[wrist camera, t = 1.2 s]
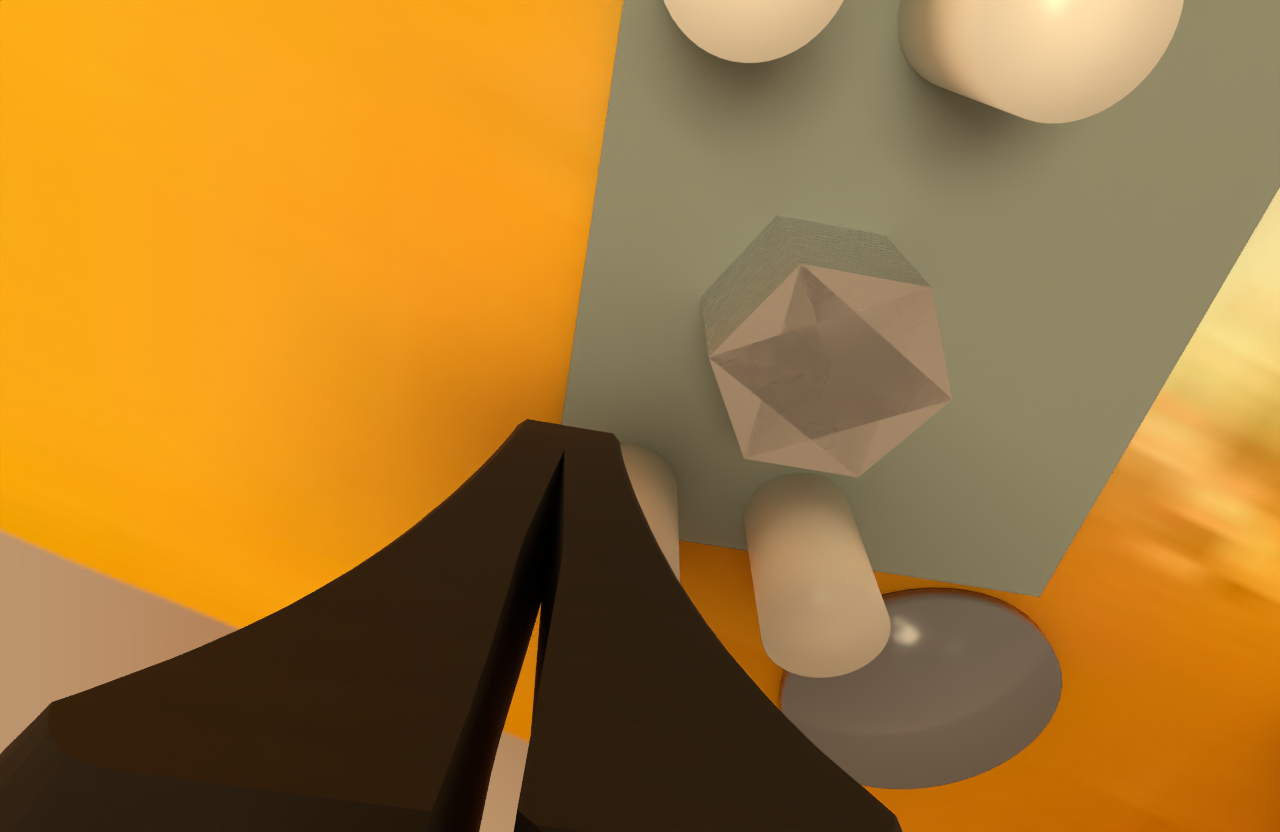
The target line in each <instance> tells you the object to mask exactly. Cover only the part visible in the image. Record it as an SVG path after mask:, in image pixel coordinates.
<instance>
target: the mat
mask: <svg viewBox="0 0 1280 832" xmlns="http://www.w3.org/2000/svg"><path fill="white" fill-rule="evenodd" d="M900 1H901V0H844V1H843V3H842V4H841V6H840V8H839V9H838V11H837V13H836V14H835V15H834V17H833V18H832V19H831V21H830V22H829V23H828V24H827V26H826V27H825V28H824V29H823V30H822V31H821V32H820V33H819V34H818V35H817V36H816V37H814V38H813V39H812V40H811V41H809V42H808V43H807V44H806V45H804V46H802V47H801V48H799V49H798V50H796V51H794V52H792V53H790V54H788V55H786V56H783V57H781V58H777V59H774V60H771V61H765V62H759V63H741V62H733V61H729V60H726V59H722V58H719V57H717V56H715V55H712V54H710V53H708V52H707V51H705V50H703V49H702V48H700V47H699V46H697V45H696V44H695V43H694V42H693V41H691V40H690V39H689V38H688V37H687V36H686V35H685V34H684V33H683V32H682V30H681V29H680V28H679V27H678V25H677V24H676V23H675V21H674V20H673V18H672V17H671V15H670V13H669V11H668V9H667V7H666V5H665V3H664V0H624V2H623V9H622V16H621V23H620V29H619V36H618V43H617V50H616V57H615V63H614V70H613V77H612V84H611V91H610V97H609V104H608V111H607V118H606V125H605V131H604V138H603V145H602V152H601V159H600V165H599V172H598V179H597V186H596V193H595V199H594V206H593V213H592V220H591V227H590V233H589V240H588V247H587V254H586V261H585V267H584V274H583V281H582V288H581V295H580V302H579V308H578V315H577V322H576V329H575V336H574V342H573V349H572V356H571V363H570V370H569V376H568V383H567V390H566V397H565V404H564V410H563V417H562V424H561V425H565V426H571V427H577V428H583V429H590V430H596V431H602V432H608V433H613V434H614V435H615V436H616V438H617V439H618V440H619V442H620V443H627V444H635V445H639V446H642V447H645V448H648V449H650V450H652V451H654V452H655V453H657V454H658V455H660V456H661V457H662V458H663V459H664V460H665V461H666V462H667V463H668V464H669V465H670V467H671V468H672V470H673V472H674V474H675V477H676V481H677V495H678V529H679V540H681V541H687V542H694V543H700V544H706V545H713V546H719V547H726V548H732V549H738V550H745V551H748V546H747V540H746V533H745V526H744V511H745V507H746V505H747V502H748V501H749V499H750V497H751V496H752V495H753V493H754V492H755V491H756V490H757V489H758V488H759V487H761V486H762V485H763V484H765V483H766V482H768V481H770V480H772V479H774V478H776V477H779V476H782V475H786V474H791V473H811V474H816V475H819V476H822V477H825V478H827V479H829V480H831V481H832V482H834V483H835V484H836V485H837V486H838V487H839V488H840V489H841V490H842V491H843V492H844V494H845V496H846V498H847V500H848V503H849V506H850V509H851V511H852V514H853V517H854V520H855V523H856V525H857V528H858V531H859V534H860V537H861V539H862V542H863V545H864V548H865V551H866V553H867V556H868V559H869V562H870V565H871V567H872V570H873V571H878V572H884V573H891V574H897V575H903V576H910V577H916V578H922V579H929V580H935V581H941V582H948V583H954V584H960V585H967V586H973V587H979V588H986V589H992V590H999V591H1005V592H1011V593H1018V594H1024V595H1030V596H1037V597H1040V595H1041V594H1042V592H1043V590H1044V589H1045V587H1046V585H1047V583H1048V582H1049V580H1050V578H1051V577H1052V575H1053V573H1054V572H1055V570H1056V568H1057V566H1058V565H1059V563H1060V561H1061V560H1062V558H1063V556H1064V554H1065V553H1066V551H1067V549H1068V548H1069V546H1070V544H1071V542H1072V541H1073V539H1074V537H1075V536H1076V534H1077V532H1078V531H1079V529H1080V527H1081V525H1082V524H1083V522H1084V520H1085V519H1086V517H1087V515H1088V513H1089V512H1090V510H1091V508H1092V507H1093V505H1094V503H1095V502H1096V500H1097V498H1098V496H1099V495H1100V493H1101V491H1102V490H1103V488H1104V486H1105V484H1106V483H1107V481H1108V479H1109V478H1110V476H1111V474H1112V473H1113V471H1114V469H1115V467H1116V466H1117V464H1118V462H1119V461H1120V459H1121V457H1122V455H1123V454H1124V452H1125V450H1126V449H1127V447H1128V445H1129V444H1130V442H1131V440H1132V438H1133V437H1134V435H1135V433H1136V432H1137V430H1138V428H1139V426H1140V425H1141V423H1142V421H1143V420H1144V418H1145V416H1146V414H1147V413H1148V411H1149V409H1150V408H1151V406H1152V404H1153V403H1154V401H1155V399H1156V397H1157V396H1158V394H1159V392H1160V391H1161V389H1162V387H1163V385H1164V384H1165V382H1166V380H1167V379H1168V377H1169V375H1170V374H1171V372H1172V370H1173V368H1174V367H1175V365H1176V363H1177V362H1178V360H1179V358H1180V356H1181V355H1182V353H1183V351H1184V350H1185V348H1186V346H1187V345H1188V343H1189V341H1190V339H1191V338H1192V336H1193V334H1194V333H1195V331H1196V329H1197V327H1198V326H1199V324H1200V322H1201V321H1202V319H1203V317H1204V316H1205V314H1206V312H1207V310H1208V309H1209V307H1210V305H1211V304H1212V302H1213V300H1214V298H1215V297H1216V295H1217V293H1218V292H1219V290H1220V288H1221V286H1222V285H1223V283H1224V281H1225V280H1226V278H1227V276H1228V275H1229V273H1230V271H1231V269H1232V268H1233V266H1234V264H1235V263H1236V261H1237V259H1238V257H1239V256H1240V254H1241V252H1242V251H1243V249H1244V247H1245V246H1246V244H1247V242H1248V240H1249V239H1250V237H1251V235H1252V234H1253V232H1254V230H1255V228H1256V227H1257V225H1258V223H1259V222H1260V220H1261V218H1262V217H1263V215H1264V213H1265V211H1266V210H1267V208H1268V206H1269V205H1270V203H1271V201H1272V199H1273V198H1274V196H1275V194H1276V193H1277V191H1278V189H1279V188H1280V0H1184V3H1183V8H1182V12H1181V15H1180V19H1179V22H1178V25H1177V28H1176V30H1175V32H1174V35H1173V37H1172V39H1171V41H1170V43H1169V45H1168V47H1167V49H1166V51H1165V52H1164V54H1163V55H1162V57H1161V58H1160V60H1159V61H1158V63H1157V64H1156V66H1155V67H1154V68H1153V69H1152V71H1151V72H1150V73H1149V74H1148V76H1147V77H1146V78H1145V79H1144V80H1143V81H1142V82H1141V83H1140V84H1139V85H1138V86H1137V87H1136V88H1135V89H1134V90H1132V91H1131V92H1130V93H1129V94H1128V95H1126V96H1125V97H1124V98H1123V99H1121V100H1120V101H1118V102H1117V103H1115V104H1114V105H1112V106H1111V107H1109V108H1107V109H1105V110H1103V111H1101V112H1099V113H1097V114H1095V115H1092V116H1090V117H1087V118H1084V119H1080V120H1077V121H1073V122H1066V123H1052V124H1048V123H1040V122H1034V121H1031V120H1027V119H1024V118H1021V117H1019V116H1016V115H1013V114H1011V113H1008V112H1005V111H1003V110H1000V109H997V108H995V107H992V106H989V105H987V104H984V103H981V102H979V101H976V100H973V99H971V98H968V97H965V96H963V95H960V94H957V93H955V92H952V91H949V90H947V89H944V88H941V87H939V86H936V85H934V84H932V83H930V82H928V81H927V80H925V79H924V78H922V77H921V76H920V75H919V74H918V73H917V72H915V70H914V69H913V68H912V67H911V65H910V64H909V62H908V61H907V59H906V57H905V55H904V52H903V50H902V47H901V43H900V39H899V33H898V13H899V5H900ZM777 215H780V216H785V217H790V218H796V219H801V220H807V221H812V222H817V223H823V224H828V225H833V226H839V227H844V228H849V229H855V230H860V231H865V232H871V233H876V234H881V235H886V236H887V237H888V238H889V240H890V241H891V242H892V243H893V244H894V245H895V246H896V247H897V249H898V250H899V251H900V252H901V253H902V254H903V255H904V257H905V258H906V259H907V260H908V261H909V262H910V263H911V264H912V266H913V267H914V268H915V269H916V270H917V271H918V272H919V274H920V275H921V276H922V277H923V278H924V279H925V280H926V281H927V283H928V284H929V285H930V286H931V287H932V291H933V297H934V302H935V307H936V313H937V318H938V324H939V329H940V335H941V340H942V345H943V351H944V356H945V362H946V367H947V373H948V378H949V383H950V389H951V394H952V400H951V401H950V402H949V403H948V404H947V405H945V406H944V407H943V408H942V409H940V410H939V411H938V412H937V413H936V414H934V415H933V416H932V417H931V418H930V419H928V420H927V421H926V422H925V423H924V424H922V425H921V426H920V427H919V428H918V429H916V430H915V431H914V432H913V433H911V434H910V435H909V436H908V437H907V438H905V439H904V440H903V441H902V442H901V443H899V444H898V445H897V446H896V447H895V448H893V449H892V450H891V451H890V452H888V453H887V454H886V455H885V456H884V457H882V458H881V459H880V460H879V461H878V462H876V463H875V464H874V465H873V466H872V467H870V468H869V469H868V470H867V471H866V472H864V473H863V474H862V475H861V476H859V477H852V476H846V475H840V474H834V473H828V472H822V471H816V470H810V469H804V468H798V467H792V466H786V465H779V464H773V463H767V462H761V461H755V460H749V459H744V457H743V454H742V452H741V449H740V446H739V443H738V440H737V437H736V434H735V432H734V429H733V426H732V423H731V420H730V417H729V414H728V411H727V409H726V406H725V403H724V400H723V397H722V394H721V391H720V389H719V386H718V383H717V380H716V377H715V374H714V371H713V369H712V366H711V363H710V360H709V357H708V349H707V341H706V333H705V324H704V316H703V308H702V300H701V296H702V294H703V293H704V292H705V291H706V290H707V289H708V288H709V287H710V286H711V285H712V284H713V283H714V282H715V281H716V280H717V278H718V277H719V276H720V275H721V274H722V273H723V272H724V271H725V270H726V269H727V268H728V267H729V266H730V265H731V264H732V263H733V261H734V260H735V259H736V258H737V257H738V256H739V255H740V254H741V253H742V252H743V251H744V250H745V249H746V248H747V247H748V245H749V244H750V243H751V242H752V241H753V240H754V239H755V238H756V237H757V236H758V235H759V234H760V233H761V232H762V231H763V230H764V228H765V227H766V226H767V225H768V224H769V223H770V222H771V221H772V220H773V219H774V218H775V217H776V216H777Z"/></svg>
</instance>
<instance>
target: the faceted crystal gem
mask: <svg viewBox="0 0 1280 832" xmlns="http://www.w3.org/2000/svg"><path fill="white" fill-rule="evenodd" d="M701 300H702V308H703V316H704V324H705V333H706V341H707V349H708V357H709V360H710V363H711V366H712V369H713V371H714V374H715V377H716V380H717V383H718V386H719V389H720V391H721V394H722V397H723V400H724V403H725V406H726V409H727V411H728V414H729V417H730V420H731V423H732V426H733V429H734V432H735V434H736V437H737V440H738V443H739V446H740V449H741V452H742V454H743V457H744V459H749V460H755V461H761V462H767V463H773V464H779V465H786V466H792V467H798V468H804V469H810V470H816V471H822V472H828V473H834V474H840V475H846V476H852V477H859V476H861V475H862V474H863V473H864V472H866V471H867V470H868V469H869V468H870V467H872V466H873V465H874V464H875V463H876V462H878V461H879V460H880V459H881V458H882V457H884V456H885V455H886V454H887V453H888V452H890V451H891V450H892V449H893V448H895V447H896V446H897V445H898V444H899V443H901V442H902V441H903V440H904V439H905V438H907V437H908V436H909V435H910V434H911V433H913V432H914V431H915V430H916V429H918V428H919V427H920V426H921V425H922V424H924V423H925V422H926V421H927V420H928V419H930V418H931V417H932V416H933V415H934V414H936V413H937V412H938V411H939V410H940V409H942V408H943V407H944V406H945V405H947V404H948V403H949V402H950V401H951V400H952V394H951V389H950V383H949V378H948V373H947V367H946V362H945V356H944V351H943V345H942V340H941V335H940V329H939V324H938V318H937V313H936V307H935V302H934V297H933V291H932V287H931V286H930V285H929V284H928V283H927V281H926V280H925V279H924V278H923V277H922V276H921V275H920V274H919V272H918V271H917V270H916V269H915V268H914V267H913V266H912V264H911V263H910V262H909V261H908V260H907V259H906V258H905V257H904V255H903V254H902V253H901V252H900V251H899V250H898V249H897V247H896V246H895V245H894V244H893V243H892V242H891V241H890V240H889V238H888V237H887V236H886V235H881V234H876V233H871V232H865V231H860V230H855V229H849V228H844V227H839V226H833V225H828V224H823V223H817V222H812V221H807V220H801V219H796V218H790V217H785V216H780V215H777V216H776V217H775V218H774V219H773V220H772V221H771V222H770V223H769V224H768V225H767V226H766V227H765V228H764V230H763V231H762V232H761V233H760V234H759V235H758V236H757V237H756V238H755V239H754V240H753V241H752V242H751V243H750V244H749V245H748V247H747V248H746V249H745V250H744V251H743V252H742V253H741V254H740V255H739V256H738V257H737V258H736V259H735V260H734V261H733V263H732V264H731V265H730V266H729V267H728V268H727V269H726V270H725V271H724V272H723V273H722V274H721V275H720V276H719V277H718V278H717V280H716V281H715V282H714V283H713V284H712V285H711V286H710V287H709V288H708V289H707V290H706V291H705V292H704V293H703V294H702V296H701Z"/></svg>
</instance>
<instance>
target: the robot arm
mask: <svg viewBox="0 0 1280 832" xmlns="http://www.w3.org/2000/svg"><path fill="white" fill-rule="evenodd" d="M540 604H541V613H540V625H539V638H538V650H537V663H536V676H535V688H534V701H533V714H532V726H531V737H530V742H529V748H528V753H527V759H526V765H525V770H524V776H523V781H522V787H521V792H520V798H519V803H518V809H517V815H516V821H515V827H514V832H902V830H901V827H900V825H899V822H898V819H897V817H896V816H895V814H893V813H892V812H891V811H890V810H889V809H888V808H886V807H885V806H884V805H883V804H882V803H881V802H880V801H878V800H877V799H876V798H875V797H874V796H873V795H871V794H870V793H869V792H868V791H867V790H866V789H865V788H863V787H862V786H861V785H860V784H859V783H858V782H856V781H855V780H854V779H853V778H852V777H851V776H850V775H848V774H847V773H846V772H845V771H844V770H843V769H841V768H840V767H839V766H838V765H837V764H836V763H835V762H833V761H832V760H831V759H830V758H829V757H828V756H826V755H825V754H824V753H823V752H822V751H821V750H820V749H819V748H817V747H816V746H815V745H814V744H813V743H812V742H811V741H810V740H809V739H808V738H807V737H806V736H805V735H804V734H803V733H802V732H801V731H800V730H799V729H798V728H797V727H796V726H795V725H794V724H793V723H792V722H791V721H790V720H789V719H788V718H787V717H786V716H785V715H784V714H783V713H782V712H781V711H780V710H779V709H778V708H777V707H776V706H775V705H774V704H773V703H772V702H771V701H770V700H769V699H768V697H767V696H766V695H765V694H764V693H763V692H762V691H761V690H760V688H759V687H758V686H757V685H756V684H755V683H754V681H753V680H752V679H751V678H750V677H749V676H748V674H747V673H746V672H745V671H744V670H743V669H742V668H741V666H740V665H739V664H738V663H737V662H736V661H735V659H734V658H733V657H732V656H731V655H730V654H729V652H728V651H727V650H726V649H725V647H724V646H723V645H722V643H721V642H720V641H719V639H718V638H717V637H716V635H715V634H714V633H713V631H712V630H711V629H710V627H709V626H708V625H707V623H706V622H705V620H704V619H703V617H702V616H701V614H700V613H699V612H698V610H697V609H696V607H695V606H694V604H693V603H692V601H691V600H690V598H689V597H688V595H687V594H686V592H685V590H684V589H683V587H682V586H681V584H680V582H679V581H678V579H677V577H676V576H675V574H674V572H673V570H672V569H671V567H670V565H669V563H668V561H667V560H666V558H665V556H664V554H663V552H662V550H661V549H660V547H659V545H658V543H657V541H656V539H655V537H654V535H653V533H652V531H651V529H650V526H649V524H648V522H647V520H646V518H645V515H644V513H643V511H642V509H641V506H640V504H639V502H638V500H637V497H636V495H635V492H634V490H633V487H632V484H631V481H630V479H629V476H628V473H627V470H626V467H625V464H624V460H623V457H622V452H621V448H620V442H619V440H618V439H617V438H616V436H615V435H614V434H613V433H608V432H602V431H596V430H590V429H583V428H577V427H571V426H565V425H559V424H553V423H547V422H541V421H535V420H529V419H527V420H525V421H524V422H522V423H520V424H519V425H518V426H517V427H516V428H515V430H514V431H513V432H512V434H511V435H510V436H509V437H508V438H507V440H506V441H505V442H504V443H503V444H502V445H501V446H500V447H499V449H498V450H497V451H496V452H495V453H494V454H493V455H492V456H491V457H490V458H489V459H488V460H487V461H486V462H485V463H484V464H483V465H482V466H481V467H480V468H479V469H478V470H477V471H476V472H475V473H474V474H473V475H472V476H471V477H470V478H469V479H468V480H467V481H466V482H465V483H464V484H463V485H461V486H460V487H459V488H458V489H457V490H456V491H455V492H454V493H453V494H452V495H451V496H449V497H448V498H447V499H446V500H445V501H444V502H442V503H441V504H440V505H439V506H437V507H436V508H435V509H434V510H433V511H431V512H430V513H429V514H428V515H427V516H425V517H424V518H423V519H422V520H421V521H419V522H418V523H417V524H416V525H414V526H413V527H412V528H411V529H409V530H408V531H407V532H405V533H404V534H403V535H401V536H400V537H399V538H397V539H396V540H395V541H393V542H392V543H390V544H389V545H387V546H386V547H385V548H383V549H382V550H380V551H379V552H377V553H376V554H374V555H373V556H371V557H370V558H368V559H367V560H365V561H364V562H362V563H361V564H359V565H358V566H356V567H355V568H353V569H352V570H350V571H348V572H347V573H345V574H343V575H342V576H340V577H338V578H336V579H335V580H333V581H331V582H330V583H328V584H326V585H325V586H323V587H321V588H320V589H318V590H316V591H314V592H312V593H311V594H309V595H307V596H305V597H303V598H302V599H300V600H298V601H296V602H294V603H293V604H291V605H289V606H287V607H285V608H283V609H281V610H279V611H277V612H275V613H273V614H271V615H269V616H267V617H265V618H263V619H261V620H258V621H256V622H254V623H252V624H250V625H248V626H246V627H244V628H242V629H240V630H237V631H235V632H233V633H230V634H228V635H226V636H224V637H221V638H219V639H217V640H215V641H212V642H210V643H208V644H206V645H203V646H201V647H199V648H196V649H194V650H191V651H189V652H186V653H184V654H182V655H179V656H177V657H174V658H172V659H170V660H167V661H164V662H161V663H159V664H156V665H153V666H151V667H148V668H145V669H142V670H140V671H137V672H134V673H132V674H129V675H126V676H124V677H121V678H118V679H116V680H113V681H110V682H107V683H105V684H102V685H99V686H97V687H94V688H92V689H89V690H86V691H83V692H81V693H78V694H75V695H72V696H69V697H66V698H63V699H60V700H57V701H54V702H52V703H51V704H49V706H48V707H47V708H46V709H45V710H44V711H43V712H42V713H41V714H40V715H39V716H38V717H37V718H36V719H35V720H34V721H33V722H32V723H31V724H30V725H29V726H28V727H27V728H26V729H25V730H24V731H23V732H22V733H21V734H20V735H19V736H18V737H17V738H16V739H15V740H14V741H13V742H12V743H11V744H10V745H9V746H8V747H7V748H6V749H5V750H4V751H3V752H2V753H1V754H0V832H479V830H480V825H481V820H482V815H483V810H484V805H485V800H486V796H487V791H488V786H489V781H490V776H491V771H492V768H493V764H494V760H495V756H496V752H497V748H498V744H499V740H500V737H501V734H502V731H503V727H504V724H505V721H506V717H507V714H508V711H509V707H510V704H511V701H512V698H513V694H514V691H515V688H516V684H517V681H518V678H519V674H520V671H521V668H522V664H523V661H524V658H525V655H526V651H527V648H528V645H529V641H530V638H531V635H532V631H533V628H534V625H535V621H536V618H537V615H538V611H539V608H540Z"/></svg>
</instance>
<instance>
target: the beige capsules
mask: <svg viewBox="0 0 1280 832" xmlns="http://www.w3.org/2000/svg"><path fill="white" fill-rule="evenodd" d="M843 1H844V0H664V3H665V5H666V7H667V9H668V11H669V13H670V15H671V17H672V18H673V20H674V21H675V23H676V24H677V25H678V27H679V28H680V29H681V30H682V32H683V33H684V34H685V35H686V36H687V37H688V38H689V39H690V40H691V41H693V42H694V43H695V44H696V45H697V46H699V47H700V48H702V49H703V50H705V51H707V52H708V53H710V54H712V55H715V56H717V57H719V58H722V59H726V60H729V61H733V62H741V63H759V62H765V61H771V60H774V59H777V58H781V57H783V56H786V55H788V54H790V53H792V52H794V51H796V50H798V49H799V48H801V47H802V46H804V45H806V44H807V43H808V42H809V41H811V40H812V39H813V38H814V37H816V36H817V35H818V34H819V33H820V32H821V31H822V30H823V29H824V28H825V27H826V26H827V24H828V23H829V22H830V21H831V19H832V18H833V17H834V15H835V14H836V13H837V11H838V9H839V8H840V6H841V4H842V3H843ZM1183 3H1184V0H901V1H900V5H899V13H898V33H899V39H900V43H901V47H902V50H903V52H904V55H905V57H906V59H907V61H908V62H909V64H910V65H911V67H912V68H913V69H914V70H915V72H917V73H918V74H919V75H920V76H921V77H922V78H924V79H925V80H927V81H928V82H930V83H932V84H934V85H936V86H939V87H941V88H944V89H947V90H949V91H952V92H955V93H957V94H960V95H963V96H965V97H968V98H971V99H973V100H976V101H979V102H981V103H984V104H987V105H989V106H992V107H995V108H997V109H1000V110H1003V111H1005V112H1008V113H1011V114H1013V115H1016V116H1019V117H1021V118H1024V119H1027V120H1031V121H1034V122H1040V123H1048V124H1052V123H1066V122H1073V121H1077V120H1080V119H1084V118H1087V117H1090V116H1092V115H1095V114H1097V113H1099V112H1101V111H1103V110H1105V109H1107V108H1109V107H1111V106H1112V105H1114V104H1115V103H1117V102H1118V101H1120V100H1121V99H1123V98H1124V97H1125V96H1126V95H1128V94H1129V93H1130V92H1131V91H1132V90H1134V89H1135V88H1136V87H1137V86H1138V85H1139V84H1140V83H1141V82H1142V81H1143V80H1144V79H1145V78H1146V77H1147V76H1148V74H1149V73H1150V72H1151V71H1152V69H1153V68H1154V67H1155V66H1156V64H1157V63H1158V61H1159V60H1160V58H1161V57H1162V55H1163V54H1164V52H1165V51H1166V49H1167V47H1168V45H1169V43H1170V41H1171V39H1172V37H1173V35H1174V32H1175V30H1176V28H1177V25H1178V22H1179V19H1180V15H1181V12H1182V8H1183ZM620 448H621V452H622V457H623V460H624V464H625V467H626V470H627V473H628V476H629V479H630V481H631V484H632V487H633V490H634V492H635V495H636V497H637V500H638V502H639V504H640V506H641V509H642V511H643V513H644V515H645V518H646V520H647V522H648V524H649V526H650V529H651V531H652V533H653V535H654V537H655V539H656V541H657V543H658V545H659V547H660V549H661V550H662V552H663V554H664V556H665V558H666V560H667V561H668V563H669V565H670V567H671V569H672V570H673V572H674V574H675V576H676V577H677V579H678V581H679V582H680V564H679V529H678V495H677V481H676V477H675V474H674V472H673V470H672V468H671V467H670V465H669V464H668V463H667V462H666V461H665V460H664V459H663V458H662V457H661V456H660V455H658V454H657V453H655V452H654V451H652V450H650V449H648V448H645V447H642V446H639V445H635V444H627V443H620ZM744 526H745V533H746V540H747V546H748V553H749V560H750V566H751V573H752V580H753V586H754V593H755V599H756V606H757V613H758V619H759V626H760V633H761V639H762V644H763V647H764V649H765V652H766V653H767V655H768V656H769V658H770V659H771V660H772V661H773V662H774V663H776V664H777V665H778V666H779V667H781V668H783V669H785V670H786V671H789V672H791V673H794V674H797V675H800V676H806V677H814V678H826V677H835V676H840V675H844V674H848V673H850V672H853V671H855V670H858V669H860V668H862V667H863V666H865V665H867V664H868V663H870V662H871V661H872V660H873V659H875V658H876V657H877V656H878V655H879V654H880V652H881V651H882V650H883V649H884V647H885V645H886V643H887V641H888V639H889V636H890V631H891V623H890V618H889V615H888V612H887V609H886V607H885V604H884V601H883V598H882V595H881V593H880V590H879V587H878V584H877V581H876V579H875V576H874V573H873V570H872V567H871V565H870V562H869V559H868V556H867V553H866V551H865V548H864V545H863V542H862V539H861V537H860V534H859V531H858V528H857V525H856V523H855V520H854V517H853V514H852V511H851V509H850V506H849V503H848V500H847V498H846V496H845V494H844V492H843V491H842V490H841V489H840V488H839V487H838V486H837V485H836V484H835V483H834V482H832V481H831V480H829V479H827V478H825V477H822V476H819V475H816V474H811V473H791V474H786V475H782V476H779V477H776V478H774V479H772V480H770V481H768V482H766V483H765V484H763V485H762V486H761V487H759V488H758V489H757V490H756V491H755V492H754V493H753V495H752V496H751V497H750V499H749V501H748V502H747V505H746V507H745V511H744Z"/></svg>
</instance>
